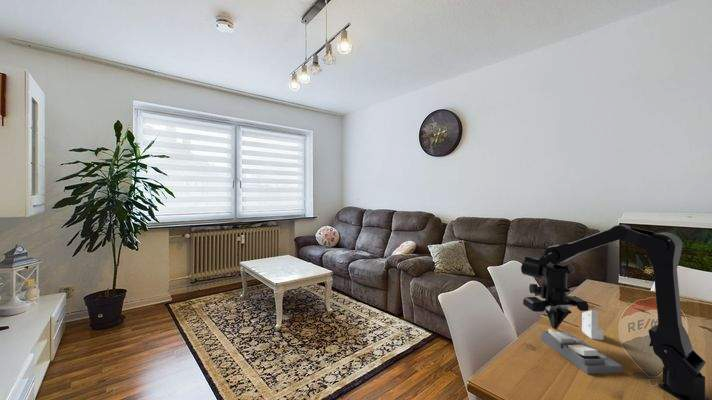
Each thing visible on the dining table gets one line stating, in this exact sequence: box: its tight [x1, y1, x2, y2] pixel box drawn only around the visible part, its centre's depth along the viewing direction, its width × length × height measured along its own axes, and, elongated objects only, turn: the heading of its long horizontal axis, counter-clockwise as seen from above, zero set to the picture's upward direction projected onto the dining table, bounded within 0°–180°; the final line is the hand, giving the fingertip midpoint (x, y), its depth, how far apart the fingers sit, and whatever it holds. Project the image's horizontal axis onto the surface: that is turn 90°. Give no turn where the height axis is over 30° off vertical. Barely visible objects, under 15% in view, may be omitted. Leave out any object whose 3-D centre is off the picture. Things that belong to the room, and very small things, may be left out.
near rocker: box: [568, 345, 598, 356], centre depth 86 cm, size 6×4×2 cm, turn 2°
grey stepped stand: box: [540, 330, 623, 375], centre depth 90 cm, size 19×10×3 cm, turn 2°
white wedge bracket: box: [581, 309, 605, 341], centre depth 102 cm, size 4×10×9 cm, turn 168°
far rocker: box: [547, 327, 574, 343], centre depth 95 cm, size 6×4×2 cm, turn 2°
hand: (554, 328), depth 97 cm, fingers closed, pressing on far rocker
